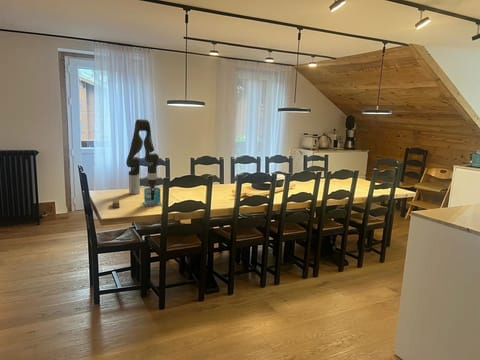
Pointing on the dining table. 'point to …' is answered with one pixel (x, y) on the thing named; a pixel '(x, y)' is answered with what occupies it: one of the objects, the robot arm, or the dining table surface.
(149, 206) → the plate
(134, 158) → the robot arm
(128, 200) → the dining table surface
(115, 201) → the ticket block
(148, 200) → the data package
